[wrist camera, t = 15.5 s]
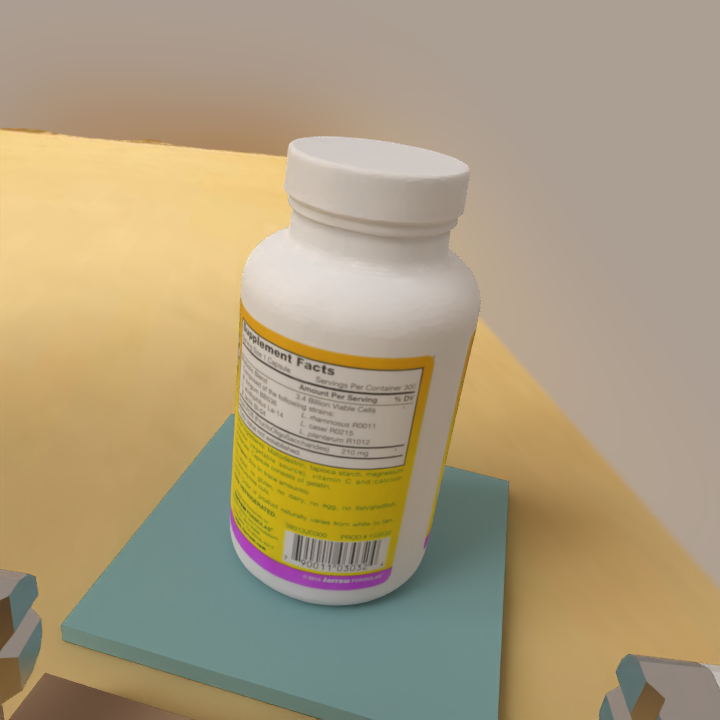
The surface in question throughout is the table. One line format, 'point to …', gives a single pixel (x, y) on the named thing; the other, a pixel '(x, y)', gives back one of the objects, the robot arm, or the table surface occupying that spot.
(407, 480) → the supplement bottle
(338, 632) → the teal mat
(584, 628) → the table surface
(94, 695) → the brown wooden square frame
